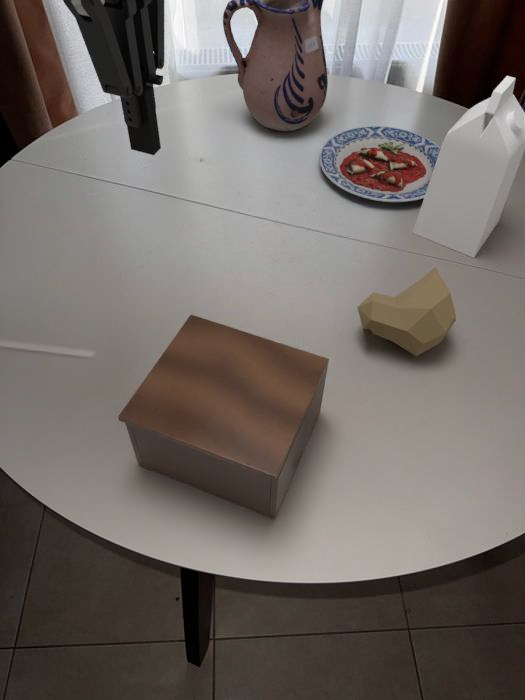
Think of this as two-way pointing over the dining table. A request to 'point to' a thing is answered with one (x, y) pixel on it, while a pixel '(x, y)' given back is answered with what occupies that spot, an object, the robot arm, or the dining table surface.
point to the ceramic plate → (380, 163)
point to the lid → (228, 395)
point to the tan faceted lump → (411, 314)
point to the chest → (226, 465)
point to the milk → (474, 173)
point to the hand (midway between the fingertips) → (146, 148)
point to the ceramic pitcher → (282, 61)
